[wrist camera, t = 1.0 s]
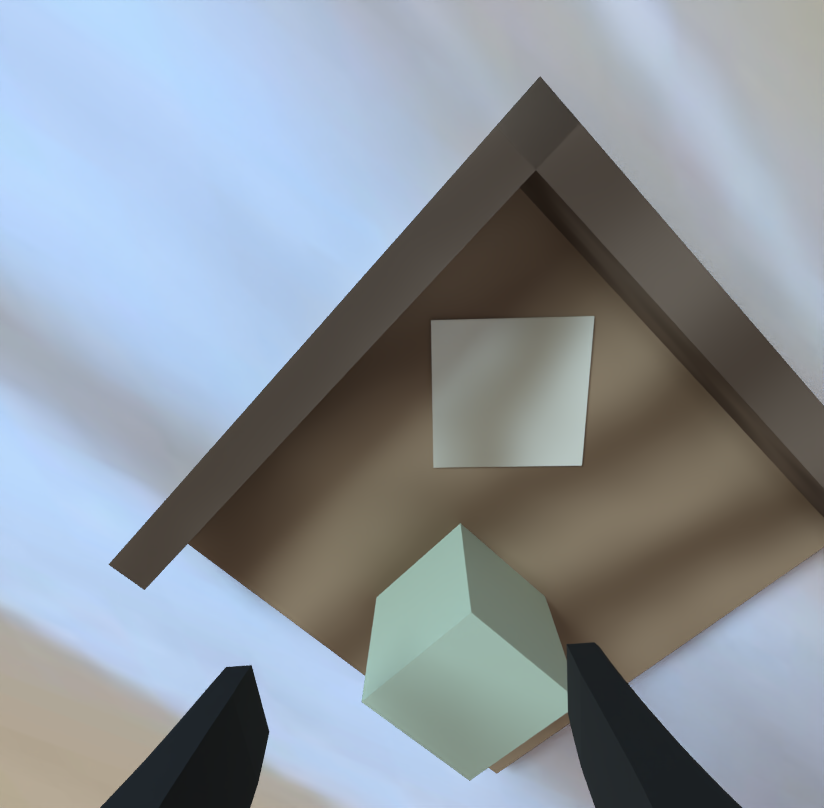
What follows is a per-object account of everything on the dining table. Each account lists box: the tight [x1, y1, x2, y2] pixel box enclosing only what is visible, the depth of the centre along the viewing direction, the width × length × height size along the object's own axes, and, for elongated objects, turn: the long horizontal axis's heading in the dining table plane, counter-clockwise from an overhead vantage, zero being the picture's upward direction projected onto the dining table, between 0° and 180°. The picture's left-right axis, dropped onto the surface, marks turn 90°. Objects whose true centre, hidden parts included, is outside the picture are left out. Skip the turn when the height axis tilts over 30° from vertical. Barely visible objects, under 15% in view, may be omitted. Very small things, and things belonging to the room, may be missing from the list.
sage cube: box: [362, 523, 568, 781], centre depth 18 cm, size 5×5×5 cm
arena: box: [109, 77, 824, 773], centre depth 18 cm, size 20×20×4 cm
